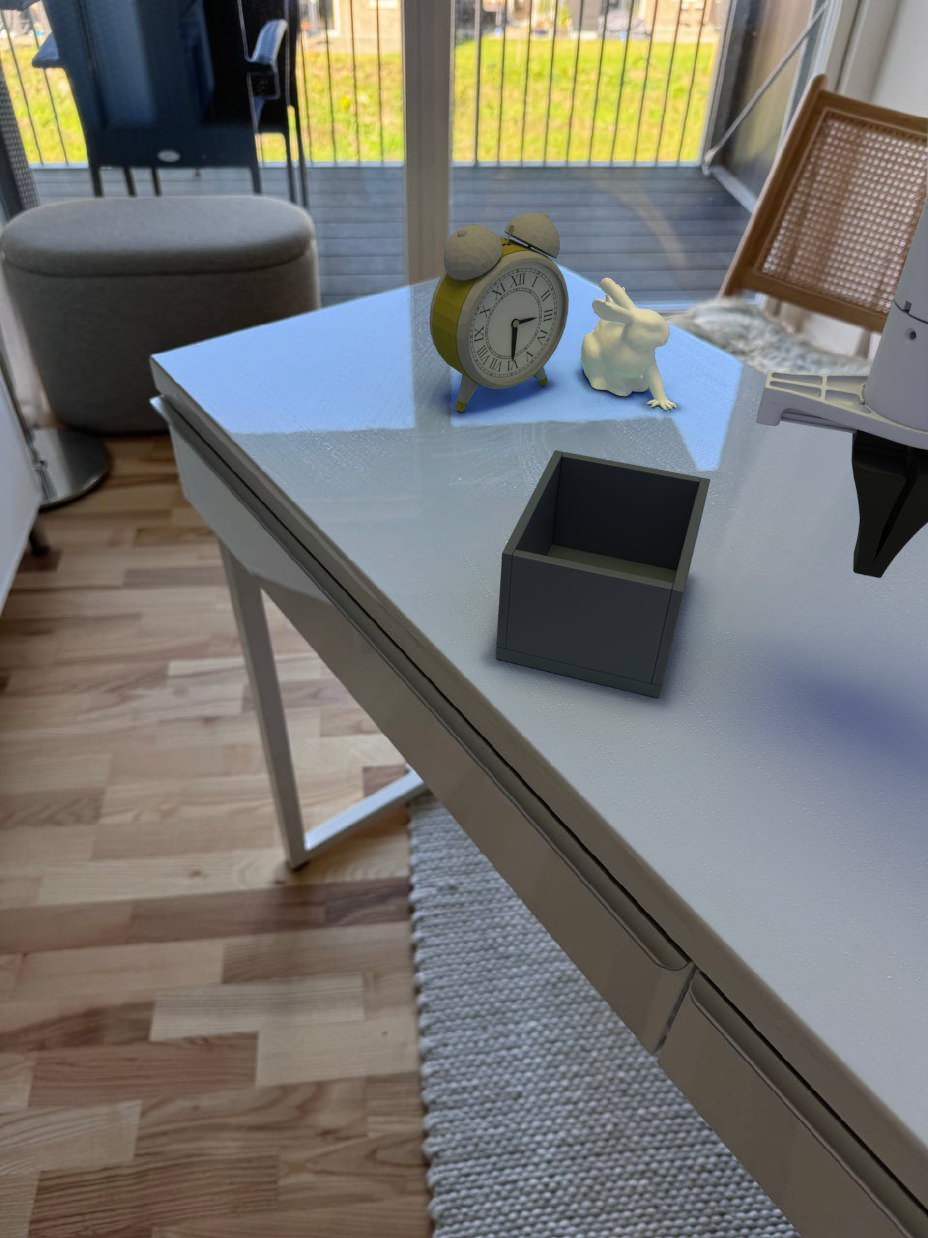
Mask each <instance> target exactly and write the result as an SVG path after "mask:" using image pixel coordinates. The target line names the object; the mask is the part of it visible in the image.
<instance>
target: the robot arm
mask: <svg viewBox="0 0 928 1238" xmlns="http://www.w3.org/2000/svg"><path fill="white" fill-rule="evenodd" d="M759 400H760V401H759V405H758V408H757V414H756V419H755V423H756V424H757V425H765V426H771V427H777V426H779V425H780V423H781V422H784V423H790V424H796V425H801V426H802V425H803V426H807V427H813V428H818V429H819V428H820V429H825V430H831V431H837V432H842V433H843V432H844V433H849V434H852V436H851V459H850V461H851V468H852V469H851V470H852V476H853V481H854V486H855V490H856V497H857V503H858V516H859V517H858V518H859V519H858V520H859V523H858V531H857V537H856V542H855V545H854V550H853V561H852V562H853V563H852V572H853V573H854V574H858V575H861V576H862V575H863V576H867V577H871V578H872V577H873V578H877V579H881V578H882V577H883V576H884V574H885V572H886V571H887V569H888V568H889V566H890V565H891V563H892V562H893V561H894V560H895V558H896V557H898V554H900V552H901V551H902V549H903V548H904V547H905V546H906V545H907V544H908V543H909V542H910V541H911V540H912V539H913V537H914V536H915V535H917V533H919V531H920V530H921V529H923V528H924V527H925V526H926V525H927V524H928V193H927V194H926V197H925V200H924V204H923V207H922V210H921V213H920V216H919V219H918V222H917V225H916V228H915V232H914V235H913V238H912V240H911V244H910V246H909V250H908V253H907V256H906V259H905V262H904V265H903V268H902V271H901V274H900V278H899V280H898V283H897V286H896V289H895V293H894V296H893V298H892V302H891V306H890V308H889V311H888V315H887V318H886V321H885V324H884V326H883V329H882V332H881V336H880V339H879V342H878V346H877V349H876V352H875V354H874V358H873V361H872V364H871V367H870V370H869V373H868V374H854V373H853V374H851V373H850V374H849V373H847V374H846V373H845V374H843V373H841V374H840V373H839V374H838V373H795V372H784V371H778V370H771V369H770V370H767V373H766V376H765V381H764V385H763V389H762V393H761V396H760V399H759Z"/></svg>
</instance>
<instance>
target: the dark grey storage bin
mask: <svg viewBox="0 0 928 1238" xmlns="http://www.w3.org/2000/svg"><path fill="white" fill-rule="evenodd" d="M710 483H711V478H707V477H700V476H695V475H691V474H686V473H681V472H680V473H679V472H675V471H669V470H664V469H658V468H654V467H649V466H643V465H638V464H631V463H627V462H622V461H616V460H611V459H605V458H601V457H600V458H599V457H594V456H588V455H585V454H578V453H572V452H567V451H562V450H558V449H554V450H553V453H552V455H551V457H550V458H549V461H548V462H547V464H546V466H545V468H544V470H543V472H542V475H541V476H540V478H539V480H538V482H537V484H536V486H535V488H534V490H533V492H532V494H531V496H530V498H529V499H528V502H527V504H526V506H525V508H524V509H523V511H522V513H521V515H520V517H519V519H518V521H517V523H516V525H515V527H514V529H513V530H512V533H511V534H510V537H509V538H508V540H507V543H506V544H505V546H504V548H503V550H502V552H501V563H500V564H501V565H500V577H499V578H500V579H499V580H500V581H499V595H498V610H497V611H498V613H497V627H496V643H495V659H496V660H500V661H505V662H509V663H513V664H517V665H521V666H525V667H530V668H534V669H538V670H540V671H546V672H549V673H553V674H558V675H562V676H566V677H570V678H575V679H578V680H583V681H586V682H590V683H595V684H599V685H604V686H607V687H611V688H615V689H619V690H624V691H628V692H632V693H636V694H641V695H644V696H649V697H653V698H657V699H659V698H660V695H661V692H662V687H663V684H664V679H665V675H666V670H667V666H668V662H669V658H670V655H671V650H672V645H673V642H674V637H675V633H676V628H677V626H678V625H677V624H678V620H679V616H680V611H681V608H682V604H683V599H684V597H685V591H686V587H687V583H688V578H689V573H690V570H691V566H692V561H693V557H694V552H695V548H696V545H697V543H696V542H697V539H698V536H699V530H700V526H701V522H702V518H703V514H704V510H705V505H706V501H707V496H708V492H709V488H710Z"/></svg>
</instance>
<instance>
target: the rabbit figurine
mask: <svg viewBox="0 0 928 1238" xmlns="http://www.w3.org/2000/svg"><path fill="white" fill-rule="evenodd" d="M599 288H600V289H601V291H602V292H603V293H605V294H606V295H605V297H603V298H593V301H592V302H591V307H592V310H593V313H594V314H595V315H596V316H597V317H599V320H598V321H597V324H596V325H595V327H594V329H592V330H591V331H590V332H589V333H585V334H584V335H583V338H582V343H581V347H580V362H581V365H582V368H583V371H584V375H585V376H586V378H587V379H588V381H589V384H590V386H591V388H593V389H595V390H601V391H602V390H603V391H609V392H610V393H612V394H614V395H616V396H620V397H627V396H629V395H631V394H632V392H636V393H637V392H638V393H642V392H646V391H648V390H649V391H650V393H651V396H652V397H653V399H652V400H648V402H646V405H651V406H650V407H653V408H654V407H656V406H660V407H661V408H662V410H664V411H669V410H673V408H674V407H675V408H677V405H676V404H675V402H672V401H670V400H669V399H668V397H667V396H666V392H665V389H664V384H663V380H662V376H661V373H660V371H659V366H658V364H657V359H656V349H657V348H661V347H664V346H666V344H668V341H669V338H670V335H671V330H670V326H669V323H667V321H666V319H665V318H664V317H663V316H662V315H661V314H660V313H659V312H657V311H656V310H653V309H649V308H640V307H638V306H637V305H635V303H634V302H633V301H632V299H631V298H630V297H629V296H628V294H627V292H626V288H625V287H624V286H622V287H621V285H619V284H616V282H615V281H614V280H613V279H611V278H610V277H605V278H602V279H601V281H600V282H599Z"/></svg>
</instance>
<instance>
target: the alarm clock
mask: <svg viewBox="0 0 928 1238" xmlns="http://www.w3.org/2000/svg"><path fill="white" fill-rule="evenodd" d="M504 234H507V238H506V237H499V235H498V234H497V233H496V232H495V231H493V230H492V229H490V228H489V227H487V226H485V225H482V224H475V223H471V224H468V225H463V226H461V227H460V228H458V229H457V230H456V231H454V232H453V233H452V234H451V235H450V236H449V238H448V239H447V241H446V243H445V245H444V249H443V265H444V270H443V272H442V273H441V275H440V277H439V279H438V281H437V283H436V287H435V289H434V290H433V294H432V298H431V301H430V302H431V303H430V308H429V330H430V331H429V333H430V336H431V340H432V343H433V344H432V345H433V346H434V347H435V350H436V351H437V354H438V355H439V356H440V357H441V358H442V360H443V361H444V362H445V363H446V364H447V365H448V366H449V367H451V368H452V369H454V370H455V371H457V372H458V373H460V374H462V375H461V380H460V385H459V390H458V395H457V399H456V403H455V410H457V411H459V412H461V413H462V412H464V410H465V409H466V407H467V406H468V403H470V400H471V399H472V397H473V396H474V394H475V392H476V390H477V389H478V388H479V386H482V387H484V388H489V389H492V390H505V389H509V388H513V387H516V386H518V385H520V384H523V383H525V382H527V381H528V380H530V379H532V377H533V378H534V379H535V380H536V381H537V382H538V383H539V385H540V386H542V387H545V386H546V385H548V383H549V380H548V377H547V374H546V370H545V365H546V364H547V363H549V360H550V359H551V357H552V356H553V354H554V353H555V352H556V350H557V348H558V346H559V344H560V342H561V340H562V338H563V335H564V332H565V329H566V325H567V322H568V321H567V320H568V316H569V301H570V299H569V298H570V297H569V290H568V286H567V281H566V280H565V277H564V274H563V272H562V270H561V269H560V268H559V266H558V265H557V264H556V263H555V262H554V261H553V260H552V259H551V258H553V259H558V256H559V253H560V250H561V239H560V234H559V231H558V229H557V228H556V226H555V224H554V222H553V221H552V220H551V219H549V214H548V213H547V212H546V211H542V212H539V213H538V212H537V213H536V212H525V213H522V214H520V215H519V214H518V215H517V216H515V217H514V218H513V219H511V220H510V221H509V223H507V225H506V227H505V229H504ZM511 237H512V238H511ZM516 240H517V241H516ZM518 241H519V242H518ZM550 257H551V258H550Z"/></svg>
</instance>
